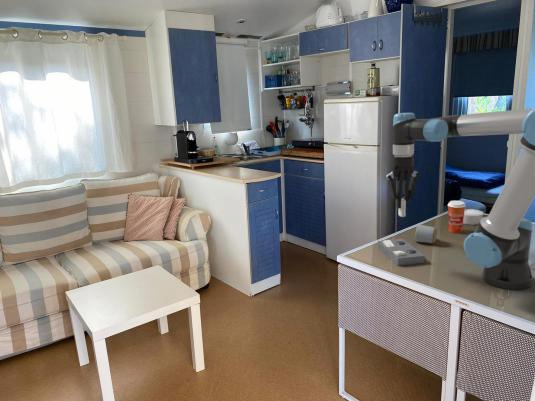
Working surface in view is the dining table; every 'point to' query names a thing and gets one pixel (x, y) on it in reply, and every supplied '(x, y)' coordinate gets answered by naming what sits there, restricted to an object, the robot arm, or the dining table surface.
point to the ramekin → (472, 216)
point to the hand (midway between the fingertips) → (401, 215)
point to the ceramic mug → (425, 234)
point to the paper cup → (456, 216)
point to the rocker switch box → (401, 245)
